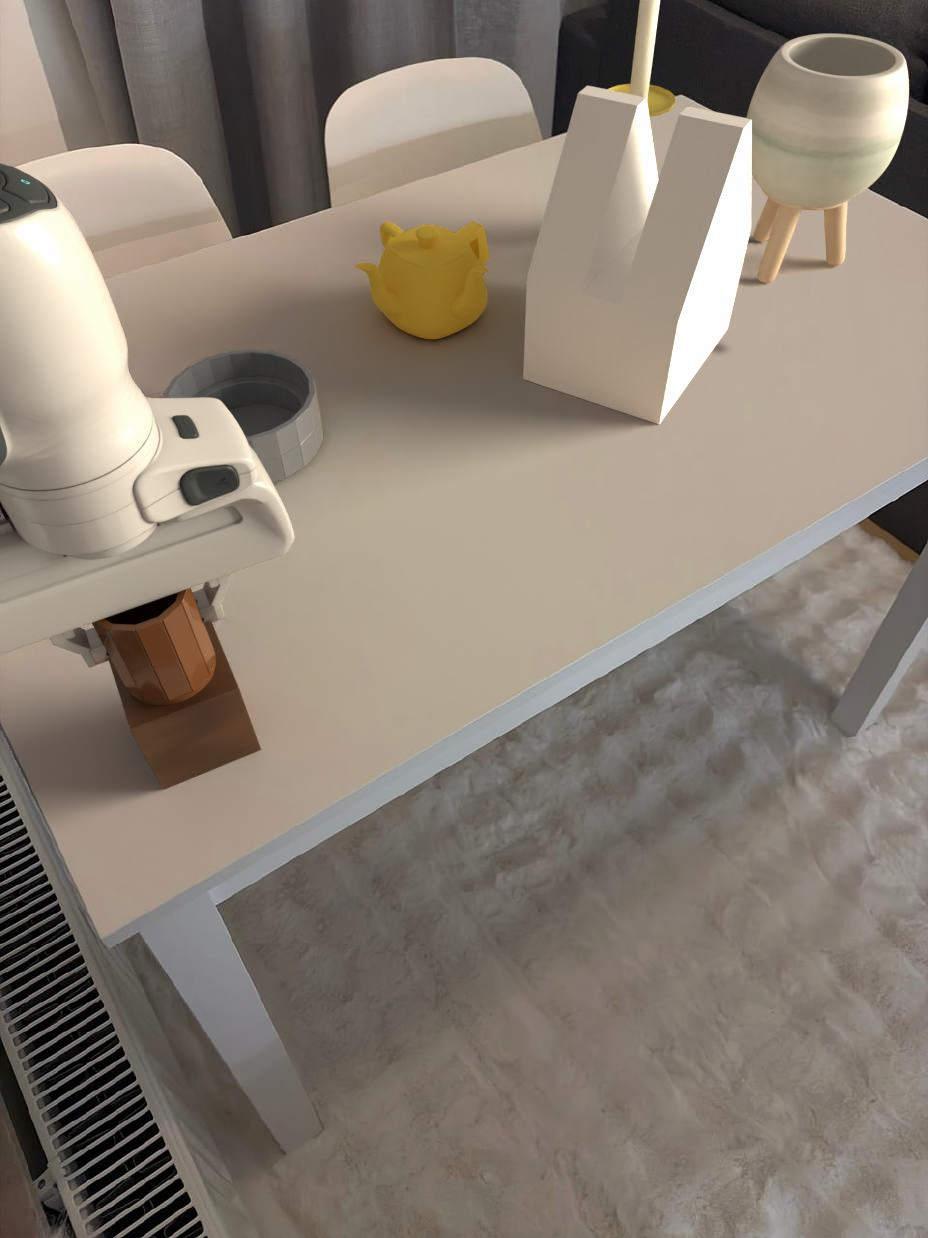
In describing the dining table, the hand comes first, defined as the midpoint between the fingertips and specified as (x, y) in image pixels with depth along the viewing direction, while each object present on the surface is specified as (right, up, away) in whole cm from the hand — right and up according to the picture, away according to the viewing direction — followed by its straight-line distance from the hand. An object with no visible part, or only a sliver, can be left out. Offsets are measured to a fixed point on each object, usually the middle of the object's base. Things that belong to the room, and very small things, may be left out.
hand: (157, 635), depth 60 cm
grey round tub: (-1, +18, +30) cm, 35 cm away
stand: (0, -7, +9) cm, 12 cm away
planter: (+59, +44, +50) cm, 89 cm away
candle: (+40, +50, +56) cm, 85 cm away
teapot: (+16, +35, +44) cm, 58 cm away
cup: (0, -2, +3) cm, 4 cm away
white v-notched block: (+38, +30, +39) cm, 62 cm away
